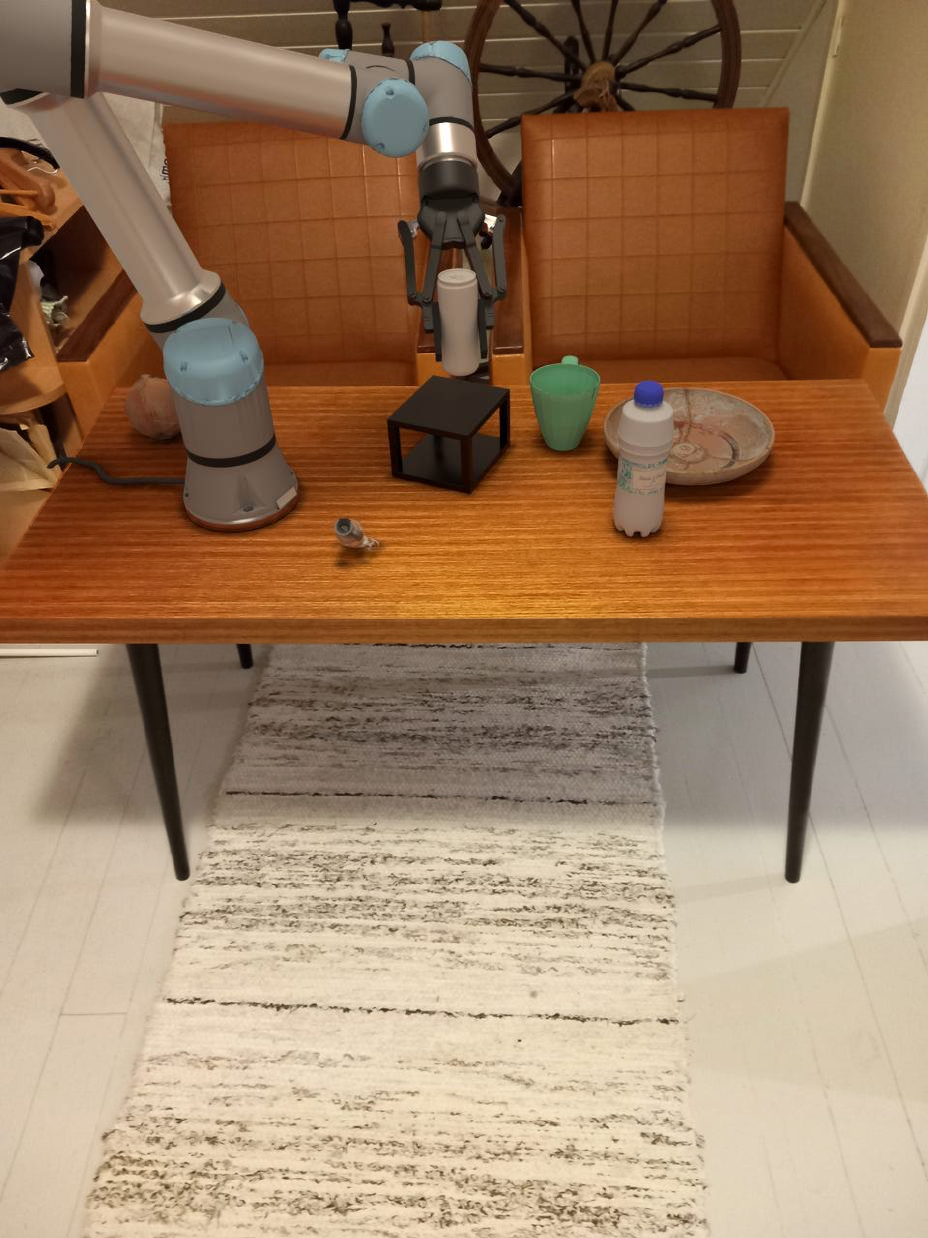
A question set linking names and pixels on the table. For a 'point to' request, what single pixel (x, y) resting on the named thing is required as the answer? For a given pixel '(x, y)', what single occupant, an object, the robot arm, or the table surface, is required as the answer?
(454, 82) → the robot arm
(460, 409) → the rack
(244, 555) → the table surface
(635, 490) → the bottle
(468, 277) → the beverage can
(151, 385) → the onion
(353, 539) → the seashell
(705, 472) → the ceramic bowl
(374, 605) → the table surface
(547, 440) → the mug
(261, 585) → the table surface
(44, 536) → the table surface
